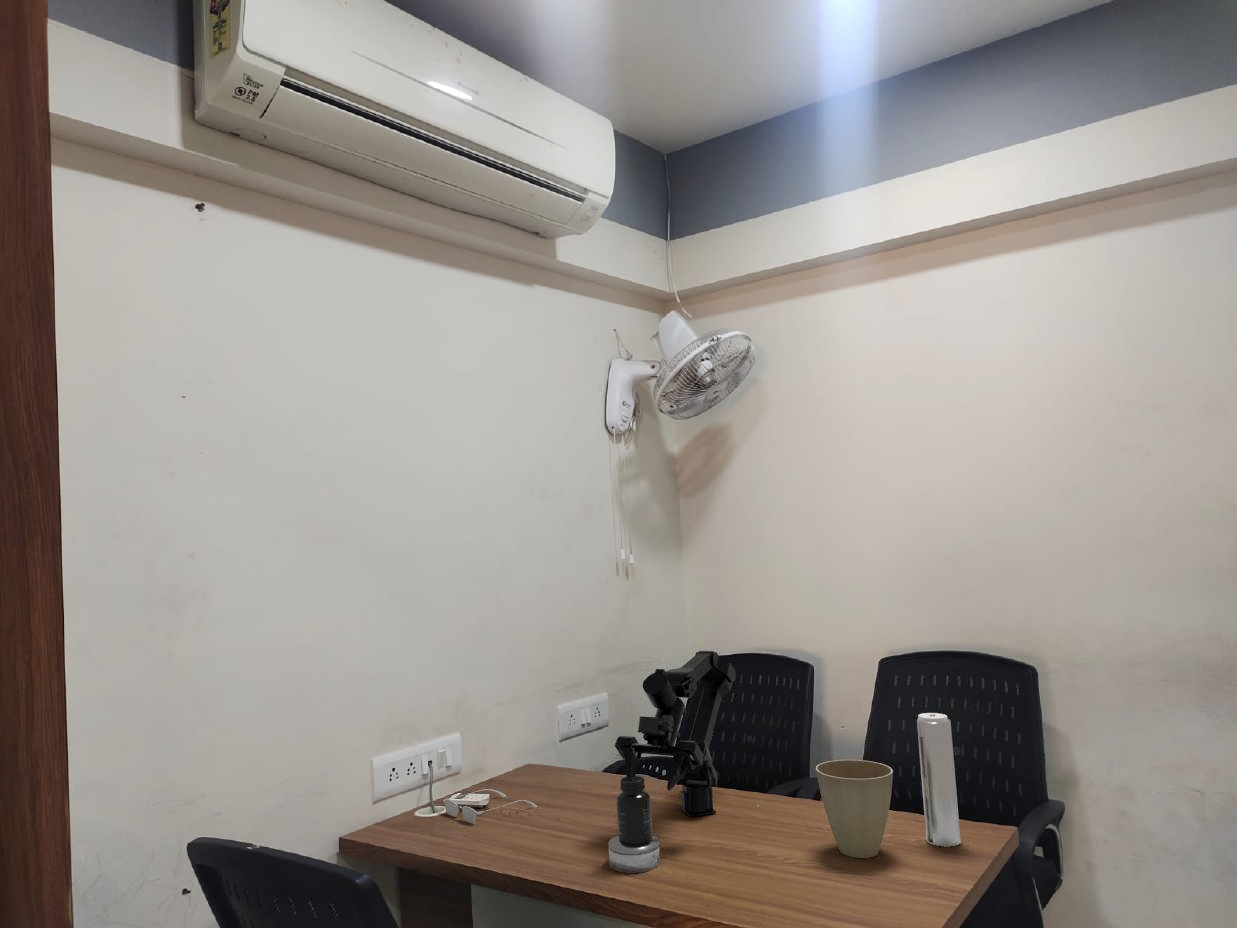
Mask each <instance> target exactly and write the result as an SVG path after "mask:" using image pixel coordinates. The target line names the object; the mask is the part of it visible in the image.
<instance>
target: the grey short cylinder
mask: <svg viewBox="0 0 1237 928" xmlns="http://www.w3.org/2000/svg"><path fill="white" fill-rule="evenodd" d="M607 844H608V862H609V867H610V868H611V869H612V870H614V871H617V872H621V873H628V874H632V873H633V874H635V873H643V872H644V873H645V872H648V871H651V870H654V869H656V868H658V867H659V865H660V864H661V856H660V855H661V854H660V852H661V851H660V840H659V838H658V837H657V836H656V835H653V839H652V841H651V842H650V843H649V844H647V845H644V846H639V847H628V846H624V845H622V844H621V843H620V842H619V836H618V835H617V836H614V837H612V838H611V839H609V841H608V843H607Z"/></svg>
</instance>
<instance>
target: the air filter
mask: <svg viewBox="0 0 1237 928" xmlns="http://www.w3.org/2000/svg"><path fill="white" fill-rule="evenodd" d="M917 717H918V718H917V719H916V723H917V725H916V726H917V734H918V735H917V738H918V749H919V750H918V752H919V764H920V765H919V766H920V776H921V789H922V798H923V812H924V813H923V814H924V815H923V816H924V824H925V825H924V826H925V838H926V842H927V843H928V844H930V845H932V846H935V845H936V847H939V846H942V847H941V848H951V847H950V846H955V845H958V846H960V845H961V843H962V842H961V832H960V831H961V830H960V819H959V807H958V806H959V805H958V795H957V794H958V793H957V782H956V772H955V771H956V770H955V759H954V757H955V756H954V746H953V735H952V724H951V719H949V718H948V715H946V714H943V713H938V712H926V713H925V712H922V713H919V714H918V715H917ZM959 844H960V845H959ZM943 846H944V847H943ZM955 847H956V846H955Z"/></svg>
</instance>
